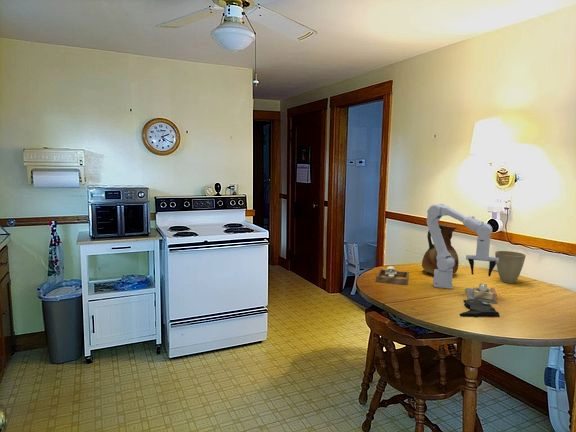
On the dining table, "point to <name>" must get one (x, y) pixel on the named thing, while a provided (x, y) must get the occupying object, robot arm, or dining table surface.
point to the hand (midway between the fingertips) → (480, 274)
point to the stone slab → (479, 309)
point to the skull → (391, 272)
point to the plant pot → (509, 265)
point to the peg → (483, 287)
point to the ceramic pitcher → (430, 256)
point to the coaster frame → (393, 280)
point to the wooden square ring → (482, 294)
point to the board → (470, 296)
